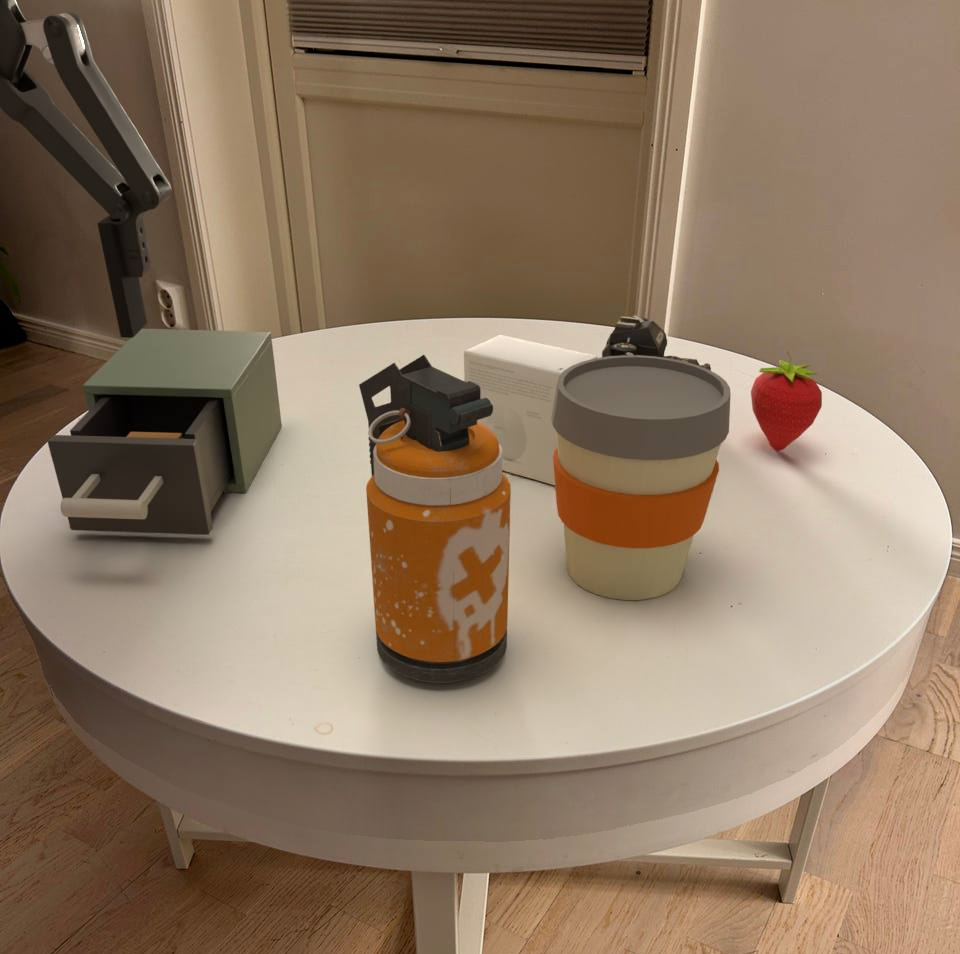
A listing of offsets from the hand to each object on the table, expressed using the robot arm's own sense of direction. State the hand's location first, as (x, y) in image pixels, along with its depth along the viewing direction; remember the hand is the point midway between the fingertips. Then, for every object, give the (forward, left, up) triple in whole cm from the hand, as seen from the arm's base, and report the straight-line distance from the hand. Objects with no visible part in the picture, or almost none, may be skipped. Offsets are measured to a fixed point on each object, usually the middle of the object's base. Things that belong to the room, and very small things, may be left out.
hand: (25, 328), depth 61 cm
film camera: (+43, +37, -21) cm, 60 cm away
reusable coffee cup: (+39, +8, -21) cm, 45 cm away
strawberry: (+55, +31, -21) cm, 67 cm away
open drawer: (0, +14, -20) cm, 24 cm away
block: (0, +15, -19) cm, 24 cm away
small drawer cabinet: (0, +26, -21) cm, 33 cm away
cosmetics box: (+31, +27, -21) cm, 46 cm away
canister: (+25, -3, -21) cm, 33 cm away
